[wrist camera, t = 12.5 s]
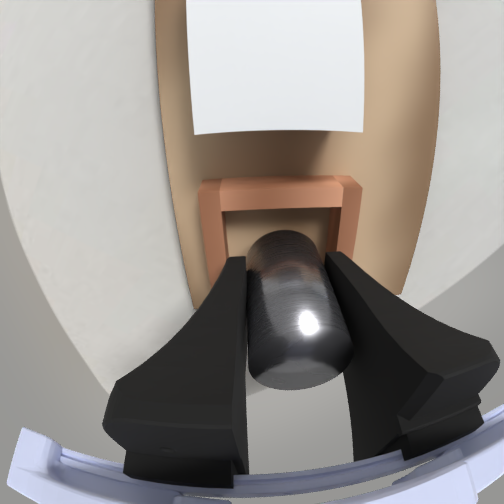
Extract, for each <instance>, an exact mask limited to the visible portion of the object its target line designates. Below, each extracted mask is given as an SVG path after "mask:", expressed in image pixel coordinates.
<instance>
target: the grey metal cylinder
mask: <svg viewBox="0 0 504 504" xmlns="http://www.w3.org/2000/svg"><path fill="white" fill-rule="evenodd" d="M246 270H247V333H248V368H249V372H250V374H251V376H252V377H253V378H254V379H255V380H256V381H257V382H259V383H260V384H262V385H264V386H267V387H270V388H274V389H280V390H300V389H306V388H311V387H315V386H317V385H321V384H323V383H325V382H328V381H330V380H331V379H333V378H335V377H336V376H338V375H339V374H340V373H342V372H343V371H344V370H345V369H346V368H347V367H348V366H349V364H350V363H351V361H352V359H353V356H354V346H353V343H352V340H351V337H350V334H349V331H348V329H347V326H346V323H345V320H344V317H343V315H342V312H341V309H340V306H339V304H338V301H337V298H336V296H335V293H334V290H333V288H332V285H331V282H330V280H329V277H328V275H327V272H326V270H325V267H324V265H323V262H322V260H321V257H320V255H319V252H318V250H317V247H316V245H315V244H314V242H313V241H312V240H311V239H310V238H309V237H307V236H306V235H304V234H303V233H300V232H297V231H294V230H277V231H273V232H270V233H267V234H265V235H263V236H262V237H260V238H259V239H258V240H256V241H255V242H254V244H253V245H252V246H251V247H250V249H249V251H248V254H247V257H246Z"/></svg>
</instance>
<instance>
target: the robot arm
mask: <svg viewBox="0 0 504 504" xmlns="http://www.w3.org/2000/svg"><path fill="white" fill-rule="evenodd" d="M324 267H325V270H326V272H327V275H328V277H329V280H330V282H331V285H332V288H333V290H334V293H335V296H336V298H337V301H338V304H339V306H340V309H341V312H342V315H343V317H344V320H345V323H346V326H347V329H348V331H349V334H350V337H351V340H352V343H353V346H354V356H353V359H352V361H351V363H350V364H349V366H348V367H347V368H346V369H345V370H344V371H343V375H344V380H345V385H346V391H347V397H348V403H349V410H350V418H351V428H352V439H353V456H354V462H351V463H346V464H342V465H336V466H331V467H325V468H319V469H312V470H304V471H296V472H286V473H274V474H256V475H249V461H248V440H247V417H246V386H245V371H246V356H247V342H248V333H247V270H246V256H235V257H229V258H228V259H226V262H225V265H224V267H223V269H222V271H221V273H220V275H219V277H218V279H217V280H216V282H215V284H214V285H213V287H212V289H211V291H210V292H209V294H208V295H207V297H206V298H205V299H204V301H203V302H202V304H201V305H200V307H199V308H198V309H197V311H196V312H195V313H194V315H193V316H192V317H191V318H190V319H189V321H188V322H187V323H186V324H185V325H184V326H183V327H182V329H181V330H180V331H179V332H178V333H177V334H176V335H175V336H174V337H173V338H172V339H171V340H170V341H169V342H168V343H167V344H166V345H165V346H163V347H162V348H161V349H160V350H159V351H157V352H156V353H155V354H154V355H153V356H152V357H150V358H149V359H148V360H147V361H145V362H144V363H143V364H141V365H140V366H139V367H137V368H136V369H134V370H133V371H131V372H130V373H128V374H127V375H125V376H124V377H122V378H121V379H119V380H117V381H116V383H115V385H114V388H113V390H112V392H111V394H110V398H109V400H108V404H107V407H106V411H105V415H104V419H103V423H102V425H103V429H104V430H105V432H106V433H107V434H108V435H109V436H110V437H111V438H112V439H113V440H114V441H116V442H117V443H118V444H119V445H120V446H122V447H123V448H124V449H125V450H126V456H125V462H124V464H122V463H118V462H113V461H109V460H104V459H101V458H97V457H93V456H89V455H86V454H82V453H79V452H76V451H73V450H69V449H66V448H63V447H62V446H61V445H60V444H59V443H57V442H56V441H54V440H53V439H51V438H49V437H48V436H45V435H43V434H40V433H38V432H36V431H33V430H31V429H28V428H26V427H23V428H22V430H21V433H20V436H19V439H18V442H17V446H16V449H15V452H14V456H13V459H12V463H11V467H10V471H9V475H8V480H7V485H8V486H10V487H11V488H13V489H15V490H16V491H18V492H19V493H21V494H23V495H25V496H26V497H28V498H30V499H32V500H33V501H35V502H37V503H39V504H231V502H230V501H229V500H219V499H209V498H202V497H223V498H251V497H273V496H285V495H295V494H303V493H311V492H317V491H323V490H328V489H335V488H340V487H344V486H348V485H353V484H358V483H362V482H366V481H370V480H373V479H376V478H380V477H384V476H387V475H390V474H393V473H397V472H399V471H403V470H406V469H408V468H411V467H414V466H417V465H419V464H422V463H424V462H427V461H429V460H432V459H434V458H435V459H434V460H432V461H430V462H428V463H426V464H424V465H421V466H419V467H417V468H416V469H415V470H414V471H412V472H411V473H409V474H408V475H406V476H404V477H402V478H401V479H398V480H396V481H394V482H393V483H392V486H389V487H386V488H382V489H379V490H375V491H372V492H368V493H364V494H361V495H357V496H352V497H348V498H344V499H339V500H334V501H329V502H324V503H318V504H476V503H477V501H478V496H477V493H479V492H480V491H481V490H483V489H484V488H486V487H487V486H488V485H490V484H491V483H492V482H494V481H495V480H496V479H498V478H499V477H500V476H501V475H503V474H504V404H502V405H500V406H499V407H497V408H495V409H493V410H492V411H490V412H488V413H486V414H484V415H482V416H481V413H480V411H479V409H478V405H479V404H480V403H481V399H480V397H479V395H478V393H479V392H480V391H481V390H482V389H483V388H484V387H485V386H486V384H487V383H488V382H489V381H490V380H491V379H492V377H493V376H494V375H495V373H496V372H497V370H498V368H499V365H500V359H499V357H498V356H497V354H496V352H495V351H494V349H493V347H492V345H491V344H490V342H489V341H488V340H485V339H482V338H479V337H476V336H473V335H470V334H467V333H464V332H462V331H460V330H457V329H455V328H452V327H450V326H448V325H446V324H443V323H441V322H439V321H437V320H435V319H434V318H432V317H430V316H428V315H426V314H424V313H422V312H421V311H419V310H417V309H415V308H414V307H412V306H411V305H409V304H408V303H406V302H404V301H403V300H401V299H400V298H399V297H397V296H396V295H394V294H393V293H392V292H390V291H389V290H388V289H386V288H385V287H384V286H382V285H381V284H380V283H378V282H377V281H376V280H375V279H373V278H372V277H371V276H370V275H369V274H367V273H366V272H365V271H364V270H363V269H362V268H360V267H359V266H358V265H357V264H356V263H355V262H353V261H352V260H351V259H350V258H349V257H347V256H346V255H345V254H344V253H342V252H341V251H335V252H326V253H325V261H324ZM186 495H189V496H186ZM195 496H202V497H195Z"/></svg>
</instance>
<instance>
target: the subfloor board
mask: <svg viewBox="0 0 504 504" xmlns="http://www.w3.org/2000/svg"><path fill="white" fill-rule="evenodd" d="M361 8H362V21H363V39H364V118H363V133H362V132H347V131H327V130H257V131H236V132H221V133H209V134H198V135H194V125H193V113H192V101H191V88H190V74H189V58H188V39H187V14H186V0H155V32H156V54H157V70H158V83H159V95H160V106H161V116H162V125H163V134H164V142H165V150H166V158H167V165H168V173H169V179H170V186H171V193H172V199H173V205H174V211H175V217H176V223H177V228H178V234H179V239H180V245H181V250H182V255H183V260H184V265H185V270H186V275H187V279H188V284H189V289H190V293H191V298H192V302H193V307H194V309H198V308H199V307H200V305H201V304H202V302H203V301H204V299H205V298H206V297H207V295H208V294H209V292H210V291H211V289H212V287H213V285H214V284H215V282H216V280H217V279H218V277H219V275H220V273H221V271H222V269H223V267H224V265H225V262H226V259H228V258H229V257H235V256H246V257H247V254H248V251H249V249H250V247H251V246H252V245H253V244H254V242H255V241H256V240H258V239H259V238H260V237H262V236H263V235H265V234H267V233H270V232H273V231H277V230H294V231H297V232H300V233H303V234H304V235H306V236H307V237H309V238H310V239H311V240H312V241H313V242H314V244H315V245H316V247H317V250H318V252H319V255H320V257H321V260H322V262H323V265H324V261H325V253H326V252H335V251H341V252H342V253H344V254H345V255H346V256H347V257H349V258H350V259H351V260H352V261H353V262H355V263H356V264H357V265H358V266H359V267H360V268H362V269H363V270H364V271H365V272H366V273H367V274H369V275H370V276H371V277H372V278H373V279H375V280H376V281H377V282H378V283H380V284H381V285H382V286H384V287H385V288H386V289H388V290H389V291H390V292H392V293H393V294H394V295H399V294H401V293H402V290H403V287H404V284H405V281H406V278H407V274H408V271H409V268H410V265H411V261H412V258H413V254H414V251H415V247H416V243H417V240H418V236H419V232H420V228H421V224H422V219H423V215H424V211H425V206H426V201H427V196H428V191H429V186H430V180H431V174H432V168H433V161H434V154H435V147H436V138H437V128H438V117H439V101H440V41H439V27H438V16H437V7H436V0H361Z"/></svg>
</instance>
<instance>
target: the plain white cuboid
mask: <svg viewBox="0 0 504 504" xmlns="http://www.w3.org/2000/svg"><path fill="white" fill-rule="evenodd" d="M186 14H187V39H188V58H189V74H190V88H191V101H192V113H193V125H194V135H198V134H209V133H221V132H236V131H257V130H327V131H347V132H362V133H363V118H364V39H363V21H362V8H361V0H186Z"/></svg>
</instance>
